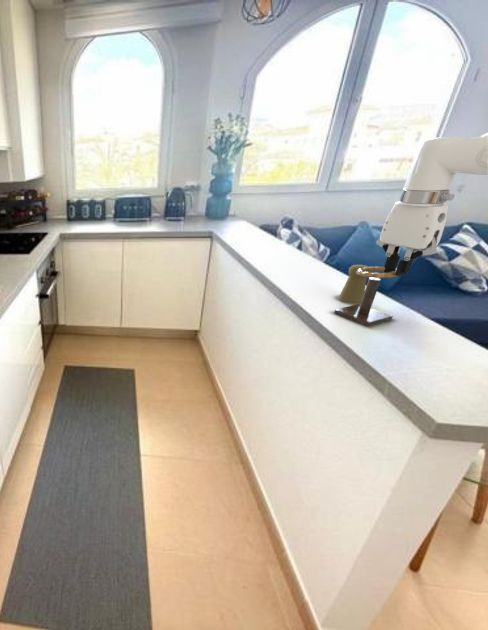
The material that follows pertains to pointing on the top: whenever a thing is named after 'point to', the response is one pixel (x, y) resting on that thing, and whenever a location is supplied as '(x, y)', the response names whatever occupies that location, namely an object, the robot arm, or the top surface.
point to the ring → (375, 275)
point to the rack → (365, 307)
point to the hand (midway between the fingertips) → (394, 272)
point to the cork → (354, 286)
